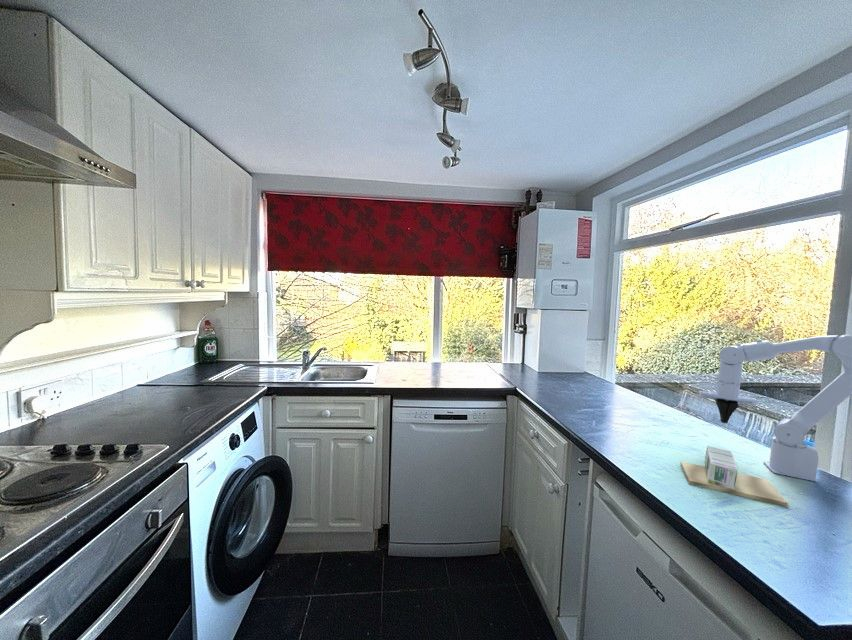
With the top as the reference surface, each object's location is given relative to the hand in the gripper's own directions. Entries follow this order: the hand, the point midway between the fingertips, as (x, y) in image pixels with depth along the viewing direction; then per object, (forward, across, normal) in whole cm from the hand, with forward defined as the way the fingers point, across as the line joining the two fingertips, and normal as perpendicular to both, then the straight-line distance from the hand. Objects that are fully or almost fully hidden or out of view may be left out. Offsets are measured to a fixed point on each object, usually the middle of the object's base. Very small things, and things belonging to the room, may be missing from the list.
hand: (723, 422), depth 118 cm
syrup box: (+6, +4, +16) cm, 18 cm away
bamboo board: (+10, +4, +25) cm, 27 cm away
